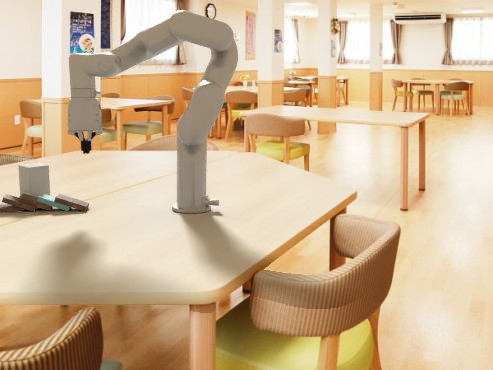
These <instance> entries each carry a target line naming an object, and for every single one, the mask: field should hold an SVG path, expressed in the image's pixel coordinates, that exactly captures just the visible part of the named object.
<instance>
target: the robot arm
mask: <svg viewBox="0 0 493 370" xmlns="http://www.w3.org/2000/svg"><path fill="white" fill-rule="evenodd" d="M234 37H235V34H234V30H233V28H232V27H231V26H230V25H229V24H228V23H226V22H224V21H221V20H218V19H214V18H211V17H207V16H204V15H200V14H197V13H194V12H191V11H189V10H183V9H182V10H177V11H175V12H174V13H172V14H171V16H169V17H166V18H165V19H163V20H160V21H158V22H156V23H155V24H153V25H151V26H149V27H147V28H145V29H143V30H142V31H139V32H138V33H137V34H136V35H134V37H132V38H131V39H130V40H128V41H127V42H124V43H123V44H121V45H120V46H117V47H115V48H113V49H112V50H110V51H107V52H100V53H99V52H98V53H87V52H86V53H84V52H81V53H79V52H76V53H70V55H69V56H68V70H69V71H68V72H69V86H70V87H69V88H70V98H68V102H67V134H68V135H70V136H74V137H76V138H77V140H79V141H80V151H81V152H82V154H83V155H85V154H86V155H87V154H88V155H89V154H90V153H91V151H92V150H93V149H92V140H93V139H94V138H95V137H96V136H98V135H103V133H104V130H103V116H102V114H103V113H102V108H101V102H100V98H98V97H97V96H99V95H102V92H101V90H99V89H97V87H96V77H98V78H105V79H107V78H112V77H115V76H118V75H119V74H121V73H124V72H126V70H129V69H131V68H132V67H135V66H137V65H138V64H141V63H143V62H145V61H150V60H152V59H153V58H155V57H157V56H159V55H161V54H163V53H165V52H166V51H168V50H171V49H172V48H174V47H176V46H178V45H180V44H182V43H184V42H188V43H190V44H194V45H197V46H200V47H203V48H208V49H210V53H211V54H210V59H209V61H208V64H207V65H206V68H205V71H204V72H203V75H202V76H201V78H200V80H199V82H198V83H197V85H196V86H195V87H194V89H193V93H192V96H191V98H190V100H189V102H188V103H187V106H186V109H184V111H183V114H181V115H180V116H179V118H178V119H177V122H176V202H175V203H174V204H172V205H171V208H172V209H171V210H173V211H174V212H177V213H183V214H202V213H206V212H209V211H211V209H212V206H215V207H216V206H217V207H219V206H220V199H217V198H210V197H209V194H207V163H208V161H207V160H208V158H207V157H208V156H207V155H208V150H207V148H208V147H207V146H208V144H207V143H208V140H207V139H208V138H207V137H208V136H209V133H210V132H211V130H212V128H213V126H214V125H215V122H216V120H217V118H218V117H219V114H220V113H221V111H222V109H223V106H224V104H225V93H226V91H227V88H228V87H229V85H230V83H231V80H232V79H233V76H234V74H235V71H236V69H237V66H238V61H239V51H238V45H237V42H236V40H235V38H234ZM84 132H87V135H86V138H85V133H84Z"/></svg>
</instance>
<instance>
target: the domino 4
mask: <svg viewBox="0 0 493 370" xmlns="http://www.w3.org/2000/svg"><path fill="white" fill-rule="evenodd" d="M55 197H56V196H52V195H51V194H50V195H47V194H43V193H42V194H41V195H40V196H38V199H37V202H40V203H44V204H47V205H50V206H53V207H52V208H57V209H60V210H63V211H65V212H69V211H70V210H71V209H72V207H69V206H66V205H63V204H60V203H56V202H54V200H55Z"/></svg>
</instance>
